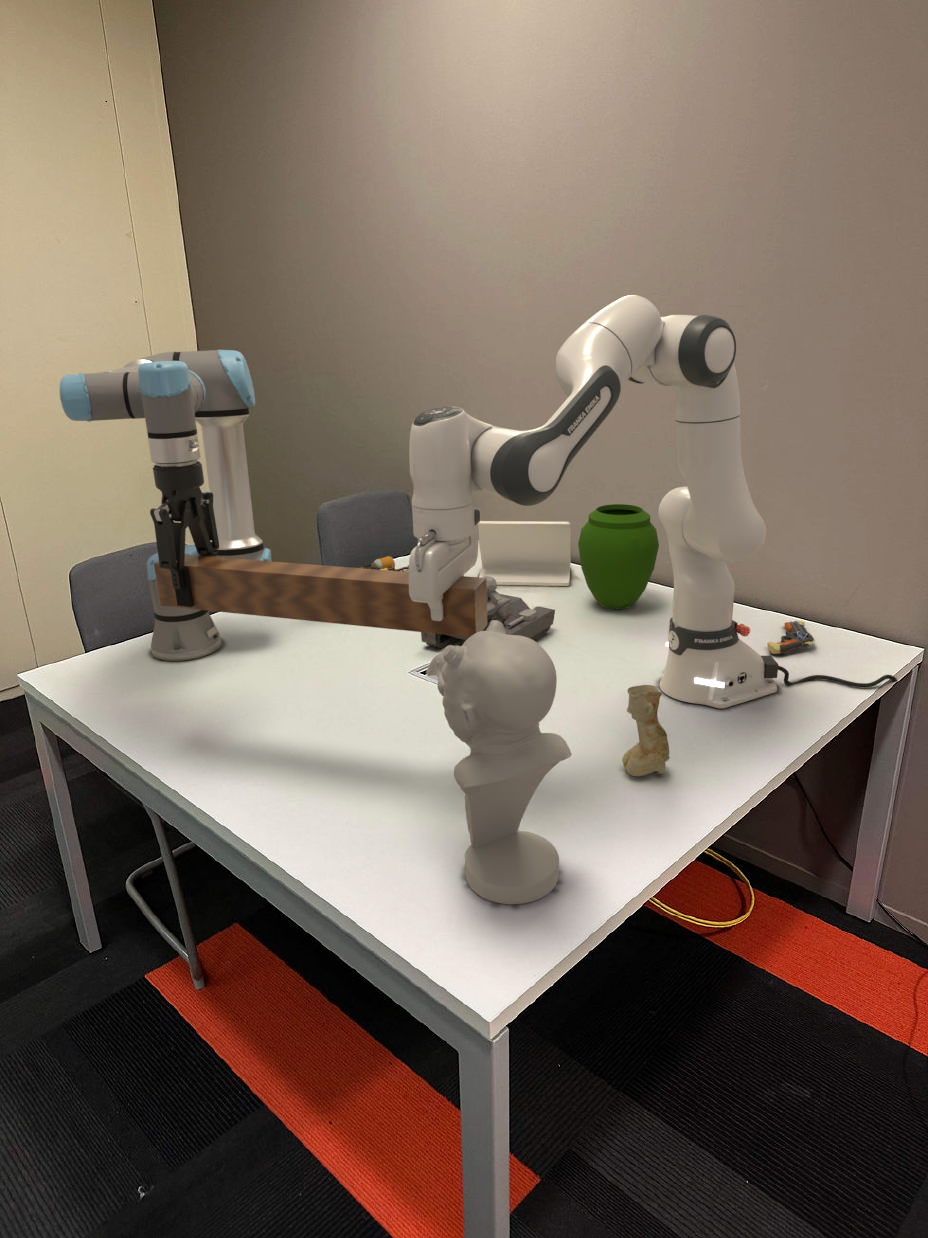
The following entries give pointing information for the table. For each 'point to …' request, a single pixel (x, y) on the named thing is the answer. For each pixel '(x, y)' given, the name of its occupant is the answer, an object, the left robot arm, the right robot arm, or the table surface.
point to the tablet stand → (525, 552)
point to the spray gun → (385, 565)
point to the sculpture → (646, 733)
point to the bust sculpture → (502, 757)
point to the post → (325, 595)
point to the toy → (504, 617)
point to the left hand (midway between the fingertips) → (197, 599)
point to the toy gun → (792, 638)
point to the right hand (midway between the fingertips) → (446, 611)
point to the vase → (618, 554)
